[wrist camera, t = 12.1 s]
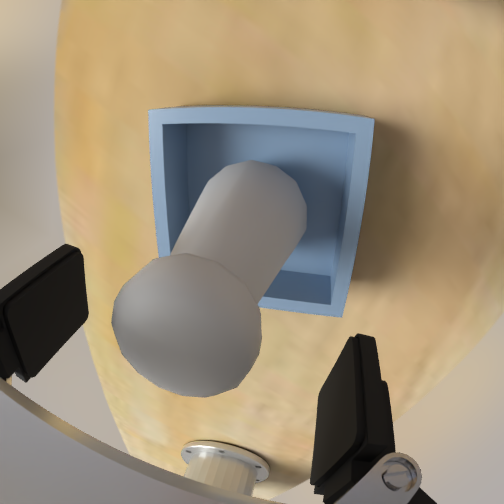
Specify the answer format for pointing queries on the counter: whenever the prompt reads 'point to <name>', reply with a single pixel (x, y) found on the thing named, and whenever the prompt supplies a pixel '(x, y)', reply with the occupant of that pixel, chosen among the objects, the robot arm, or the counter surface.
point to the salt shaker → (212, 283)
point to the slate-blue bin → (289, 161)
